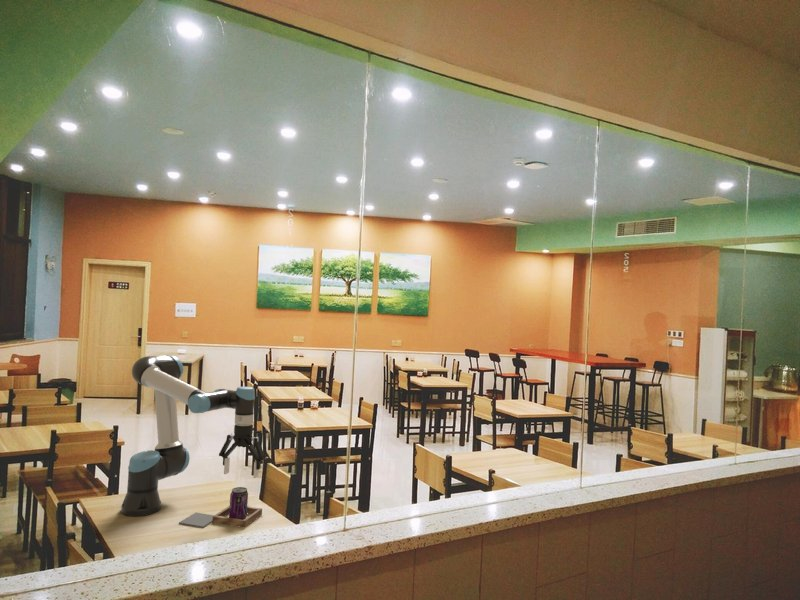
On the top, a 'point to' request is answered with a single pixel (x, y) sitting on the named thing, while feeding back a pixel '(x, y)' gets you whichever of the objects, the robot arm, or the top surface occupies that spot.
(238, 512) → the beverage can
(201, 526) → the coaster
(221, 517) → the frame
